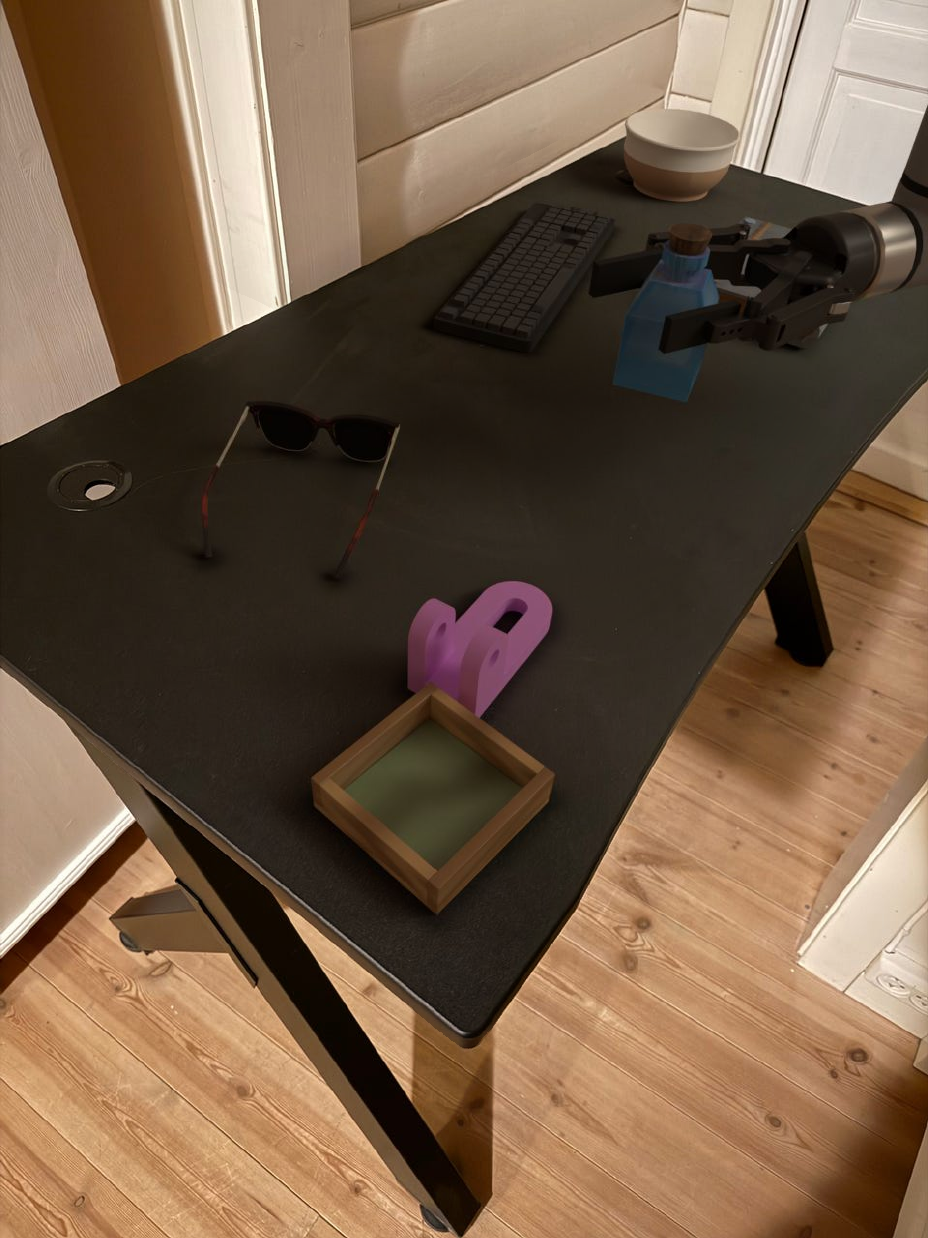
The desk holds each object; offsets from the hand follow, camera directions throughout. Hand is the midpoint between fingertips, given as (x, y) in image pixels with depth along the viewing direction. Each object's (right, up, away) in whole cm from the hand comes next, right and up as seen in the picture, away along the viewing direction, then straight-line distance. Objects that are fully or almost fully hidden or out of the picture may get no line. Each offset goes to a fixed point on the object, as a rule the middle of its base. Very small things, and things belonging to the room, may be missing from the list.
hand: (628, 306), depth 69 cm
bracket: (-11, -26, -2) cm, 28 cm away
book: (+24, +15, +40) cm, 49 cm away
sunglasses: (-26, -15, +8) cm, 31 cm away
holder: (-15, -36, -12) cm, 40 cm away
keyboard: (-4, +18, +41) cm, 44 cm away
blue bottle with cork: (+4, -4, +7) cm, 9 cm away
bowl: (+17, +39, +62) cm, 75 cm away
